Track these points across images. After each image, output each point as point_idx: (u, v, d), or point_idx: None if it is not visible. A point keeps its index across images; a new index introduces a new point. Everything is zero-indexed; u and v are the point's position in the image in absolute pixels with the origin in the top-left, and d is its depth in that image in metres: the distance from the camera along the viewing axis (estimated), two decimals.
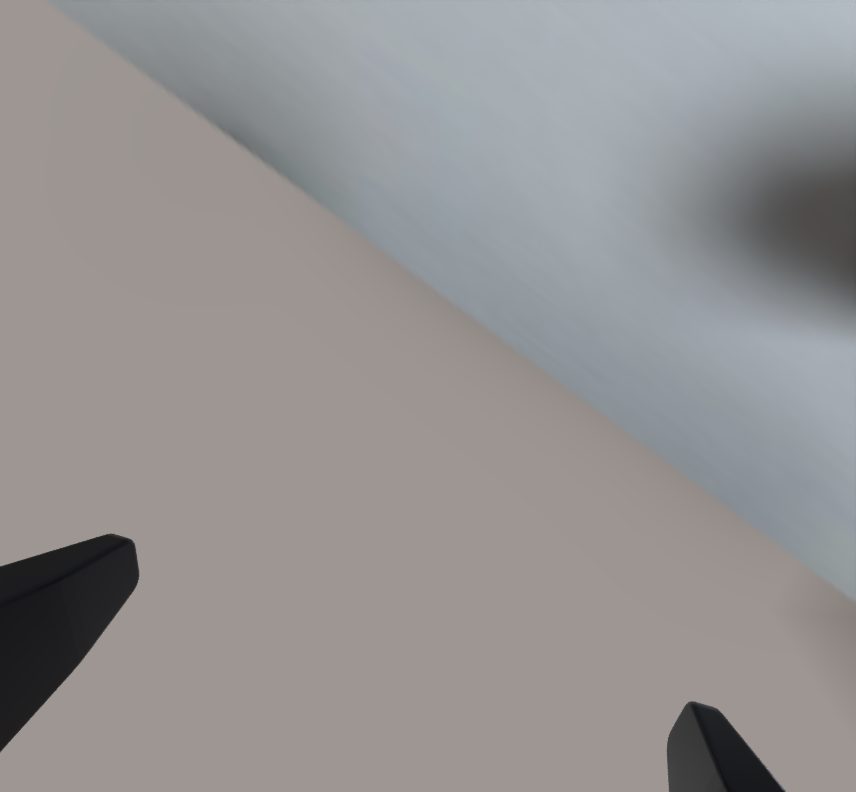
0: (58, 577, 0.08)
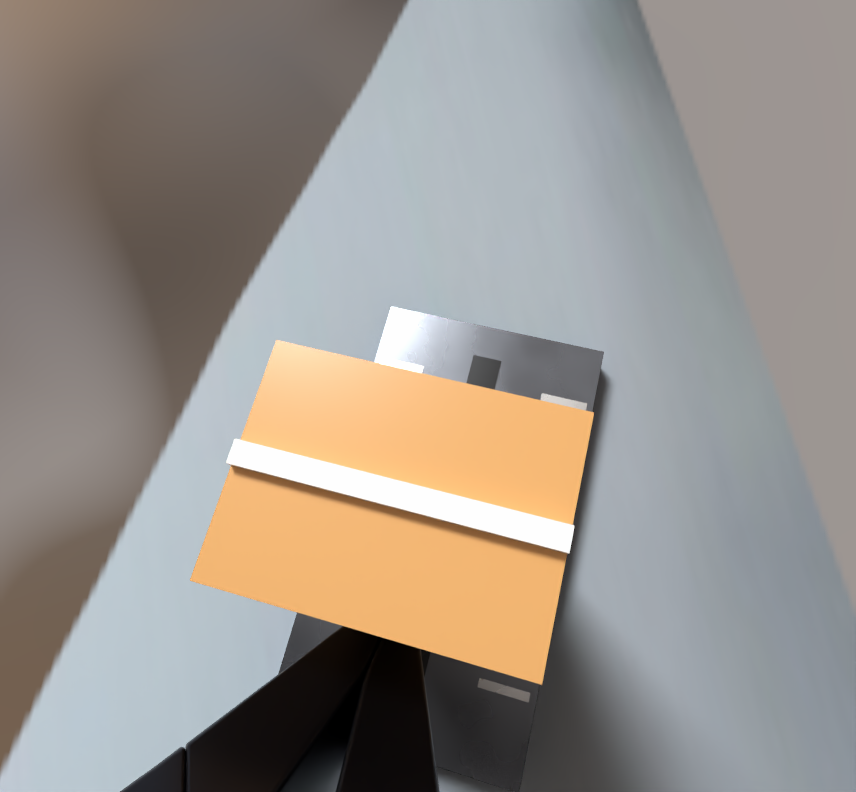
0: (359, 669, 0.08)
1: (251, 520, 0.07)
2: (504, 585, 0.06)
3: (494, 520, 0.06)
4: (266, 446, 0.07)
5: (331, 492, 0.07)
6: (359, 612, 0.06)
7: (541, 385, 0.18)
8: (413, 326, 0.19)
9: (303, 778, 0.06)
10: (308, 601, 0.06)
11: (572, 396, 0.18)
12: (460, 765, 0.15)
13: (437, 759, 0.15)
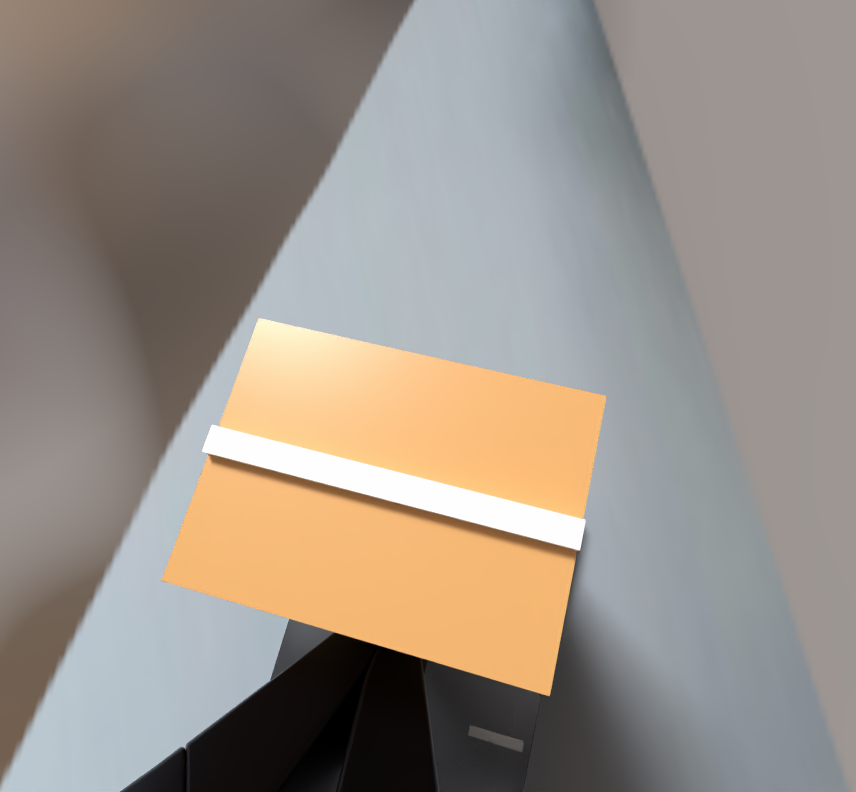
0: (359, 669, 0.08)
1: (229, 515, 0.06)
2: (508, 585, 0.06)
3: (496, 514, 0.06)
4: (246, 433, 0.06)
5: (318, 483, 0.06)
6: (347, 615, 0.06)
7: None
8: None
9: (303, 778, 0.06)
10: (291, 603, 0.06)
11: None
12: None
13: None
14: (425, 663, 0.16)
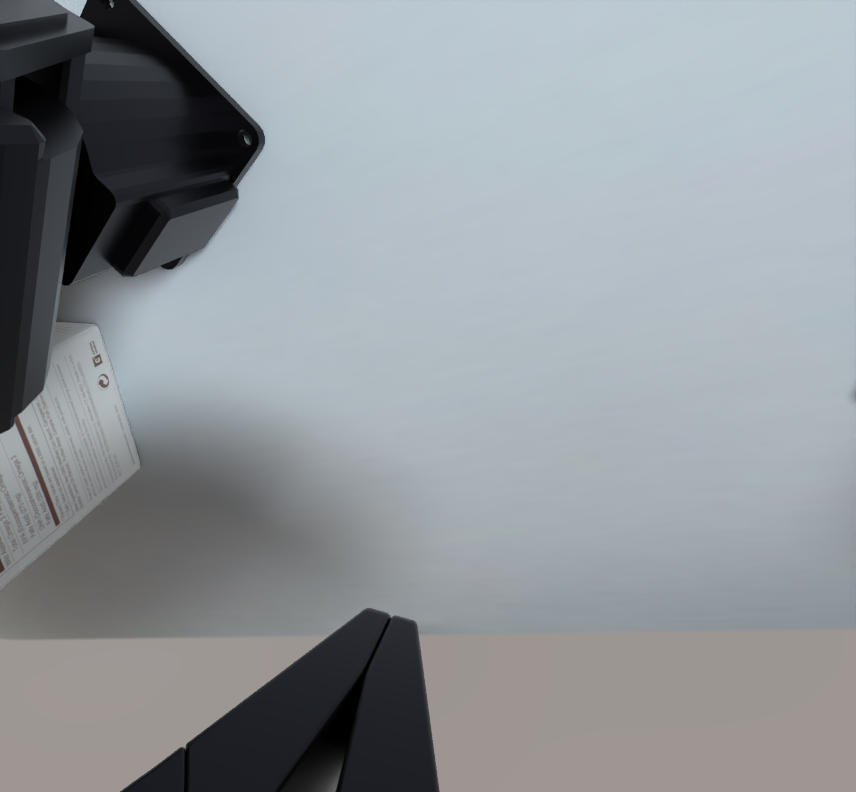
0: (359, 669, 0.08)
1: None
2: None
3: None
4: None
5: None
6: None
7: None
8: None
9: (303, 778, 0.06)
10: None
11: None
12: None
13: None
14: None
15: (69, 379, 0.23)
